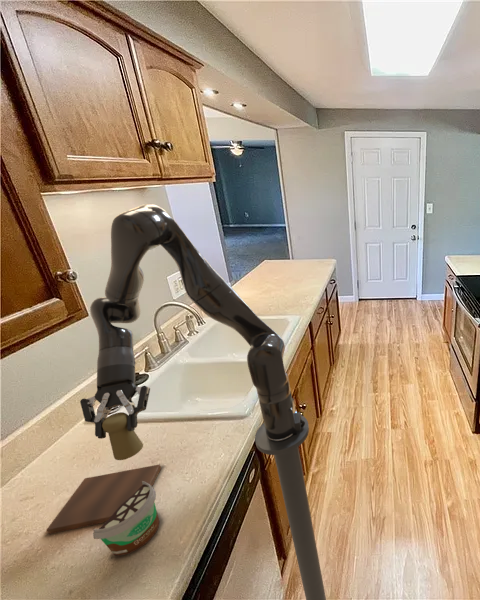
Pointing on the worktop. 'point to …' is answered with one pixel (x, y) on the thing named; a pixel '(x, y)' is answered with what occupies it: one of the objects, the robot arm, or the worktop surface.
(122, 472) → the cutting board
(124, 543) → the food container
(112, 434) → the cork
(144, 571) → the worktop surface
